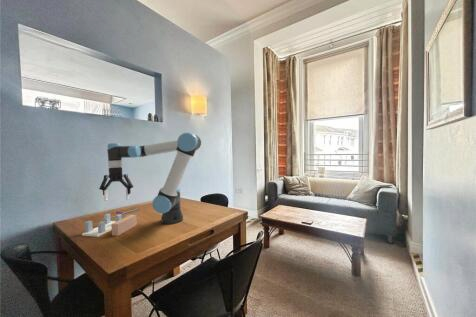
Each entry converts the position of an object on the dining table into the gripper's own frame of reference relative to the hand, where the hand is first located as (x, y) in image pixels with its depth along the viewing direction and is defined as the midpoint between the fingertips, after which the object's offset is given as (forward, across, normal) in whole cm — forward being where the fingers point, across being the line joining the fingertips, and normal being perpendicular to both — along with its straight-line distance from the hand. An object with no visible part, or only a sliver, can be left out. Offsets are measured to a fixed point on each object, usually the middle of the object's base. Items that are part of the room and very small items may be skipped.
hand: (117, 199), depth 131 cm
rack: (+19, +8, +1) cm, 20 cm away
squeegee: (+19, +16, -33) cm, 41 cm away
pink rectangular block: (+19, -6, +3) cm, 20 cm away
